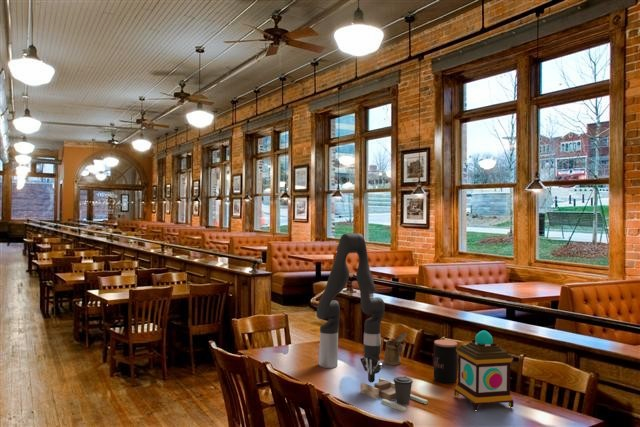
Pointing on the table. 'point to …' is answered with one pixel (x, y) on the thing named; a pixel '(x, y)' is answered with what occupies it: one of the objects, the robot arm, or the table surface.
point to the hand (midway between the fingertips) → (371, 381)
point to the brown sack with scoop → (394, 350)
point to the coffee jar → (445, 361)
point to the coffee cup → (403, 389)
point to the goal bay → (402, 406)
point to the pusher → (385, 390)
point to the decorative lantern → (484, 372)
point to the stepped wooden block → (373, 389)
